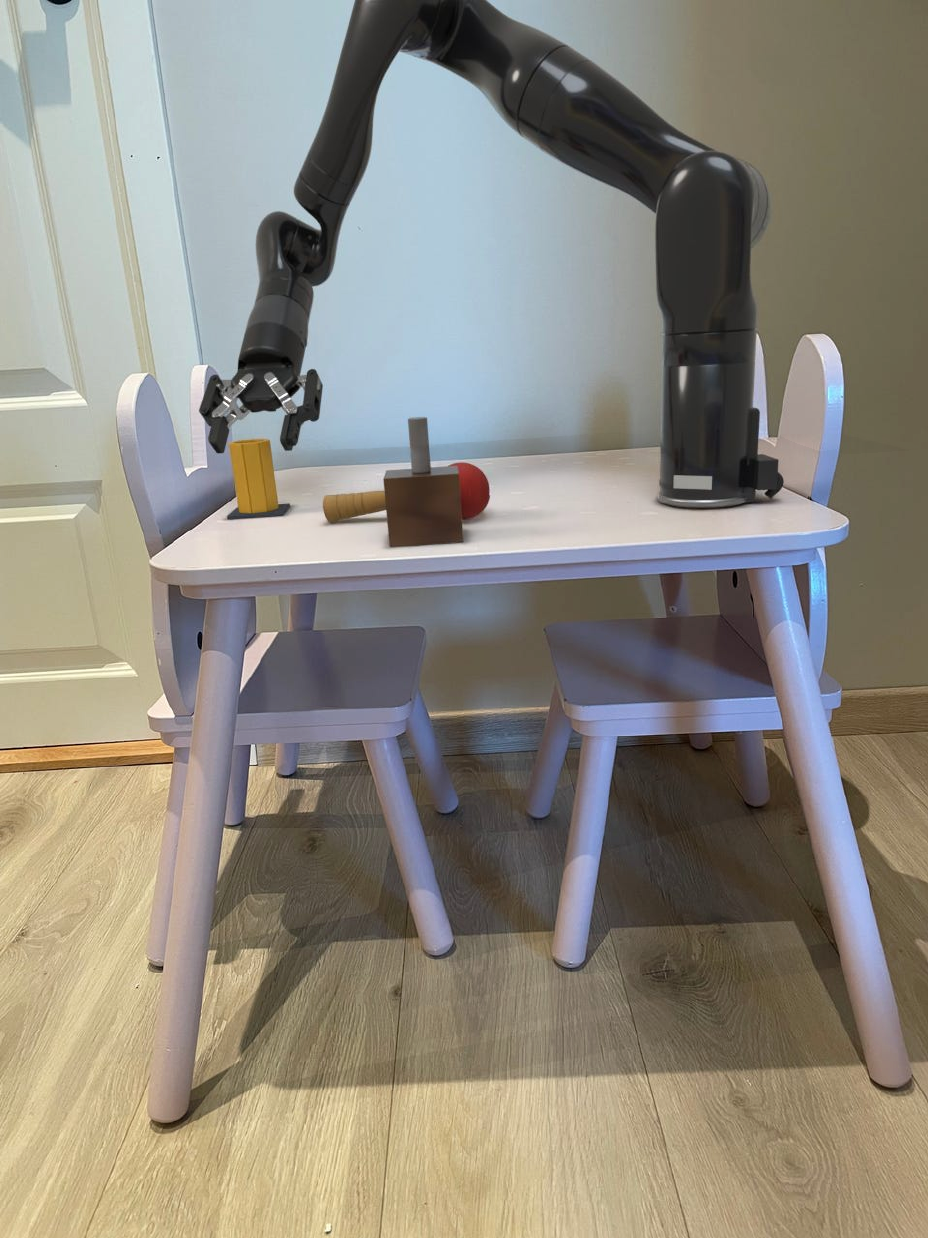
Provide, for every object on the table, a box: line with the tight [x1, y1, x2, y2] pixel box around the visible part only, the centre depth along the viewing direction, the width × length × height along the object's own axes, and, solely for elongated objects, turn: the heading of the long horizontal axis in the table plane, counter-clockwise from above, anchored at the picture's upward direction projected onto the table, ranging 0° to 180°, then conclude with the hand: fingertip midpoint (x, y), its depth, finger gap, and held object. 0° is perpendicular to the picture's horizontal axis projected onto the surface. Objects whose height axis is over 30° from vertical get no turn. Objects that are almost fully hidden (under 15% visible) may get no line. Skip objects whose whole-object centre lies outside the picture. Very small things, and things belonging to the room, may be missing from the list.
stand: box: [383, 416, 464, 548], centre depth 79 cm, size 7×5×12 cm
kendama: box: [322, 461, 491, 524], centre depth 88 cm, size 8×6×18 cm
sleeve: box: [228, 438, 279, 514], centre depth 97 cm, size 5×5×8 cm
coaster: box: [226, 502, 291, 520], centre depth 98 cm, size 6×6×1 cm
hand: (251, 447), depth 96 cm, fingers open, 8 cm apart
